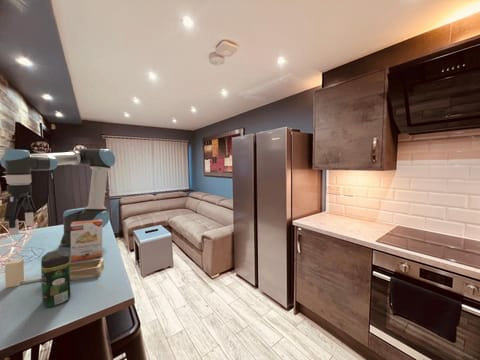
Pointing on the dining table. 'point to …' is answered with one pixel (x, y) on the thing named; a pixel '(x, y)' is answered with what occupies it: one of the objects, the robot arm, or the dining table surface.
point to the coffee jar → (55, 278)
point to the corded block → (15, 273)
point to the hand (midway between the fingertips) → (22, 230)
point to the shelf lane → (86, 269)
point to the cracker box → (86, 239)
